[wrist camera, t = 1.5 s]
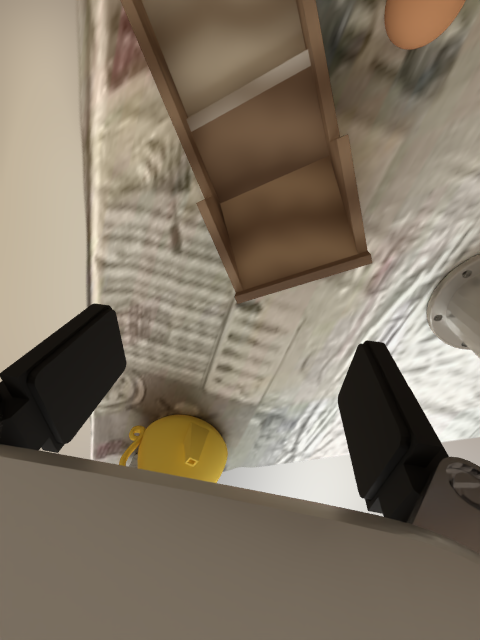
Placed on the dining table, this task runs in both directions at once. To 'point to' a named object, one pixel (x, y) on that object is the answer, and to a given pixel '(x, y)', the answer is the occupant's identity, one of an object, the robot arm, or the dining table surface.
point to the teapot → (179, 448)
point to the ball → (418, 20)
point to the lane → (258, 135)
